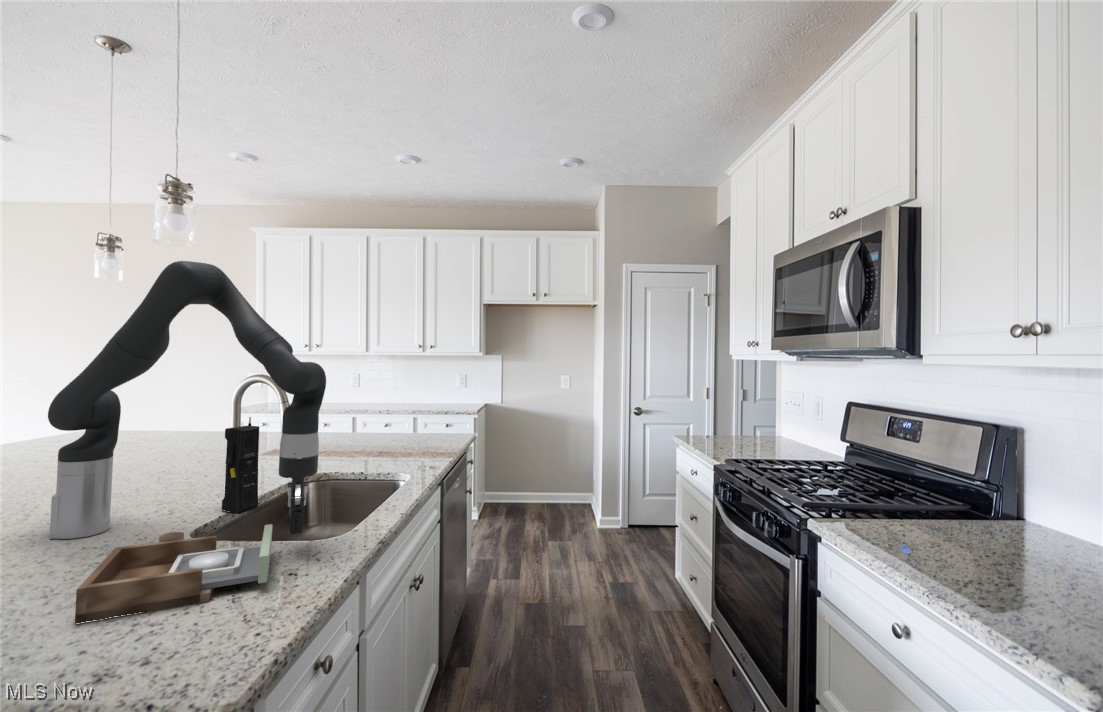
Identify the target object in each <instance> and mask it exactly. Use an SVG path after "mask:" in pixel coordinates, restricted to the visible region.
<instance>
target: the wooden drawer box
mask: <svg viewBox="0 0 1103 712" xmlns="http://www.w3.org/2000/svg"><path fill="white" fill-rule="evenodd" d="M217 536H218V535H209V536H200V537H193V538H184V539H183V540H174V541H166V542H159V541H158V542H157V541H156V542H151V543H150V542H149V543H144V544H143V543H142V544H134V545H125V546H115V548H114V549H113V550H112V551H111V552H110V553H109V554H108V555H107V556H106V557H105V558H104V559H103V561H101V562H100V563H99V564H98V566H97V567H96V568H95V569H94V570H93V571H91V573H90V575H88V576H87V577H86V578H85V580H84V581H83V582H82V583H81V584H80V585H79V586H78V587H77V588H76V593H75V594H76V597H75V613H74V615H75V616H74V625H75V624H76V623H81V622H86V621H93V620H100V619H105V618H109V617H114V616H121V615H127V614H134V613H139V612H146V613H149V612H148V611H152V612H157V611H156V610H158V611H163V610H168V609H173V608H174V607H175V608H180V607H185V606H192V605H198V604H202V603H203V604H204V603H208V602H210V600H211V597H212V595H213V592H214V589H215V588H209V589H203V590H202V571H203V568H200V569H193V570H186V571H179V572H172V573H168V572H169V570H170V569H171V567H172V565H173V563H174V562H175V560H176V558H177V557H178V555H182V554H190V553H197V552H205V551H213V550H217V539H218V537H217ZM100 621H101V620H100Z"/></svg>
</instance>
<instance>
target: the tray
mask: <svg viewBox="0 0 1103 712" xmlns="http://www.w3.org/2000/svg"><path fill="white" fill-rule="evenodd" d="M272 542H273V524H272V523H270V524H264V529H263V534H262V540H261V544H260V546H255V547H248V548H246V547H245V545H244V546H237V547H229V548H222V549H216V550H213V551H205V552H197V553H190V554H182V555H178V557H177V558H176V560H175V562H174V563H173V565H172V567H171V569H170V570H169V572H168V573H172V572H179V571H186V570H189V561H190V560H191V559H192V558H194V557H197V556H199V555H203V554H207V553H213V552H225V553H228V565H227V566H226V567H224V568H217V569H211V570H204V571H202V590H203V589H209V588H214V589H215V588H221V587H225V586H226V587H227V586H232V585H239V584H240V585H241V584H245V583H251V582H257V584H264V583H268V578H269V577H268V576H269V570H270V562H271V561H270V560H271V554H272V553H271V552H272V547H273V546H272Z"/></svg>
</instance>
